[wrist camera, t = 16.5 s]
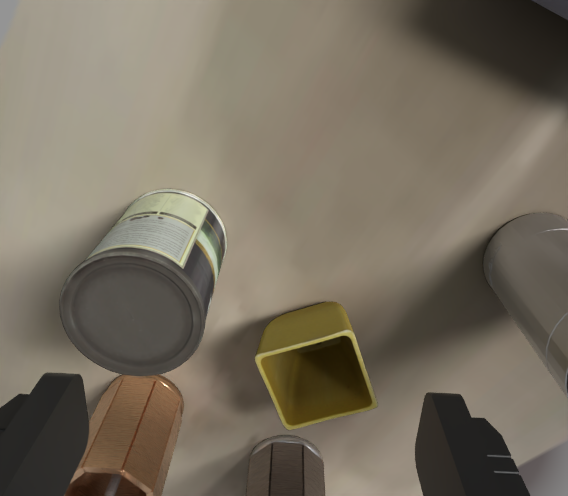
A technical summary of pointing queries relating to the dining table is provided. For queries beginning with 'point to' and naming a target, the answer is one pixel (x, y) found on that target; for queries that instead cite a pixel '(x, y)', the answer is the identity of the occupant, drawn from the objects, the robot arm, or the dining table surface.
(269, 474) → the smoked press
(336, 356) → the flower pot
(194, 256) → the coffee can
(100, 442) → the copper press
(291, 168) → the dining table surface
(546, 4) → the bluetooth speaker
